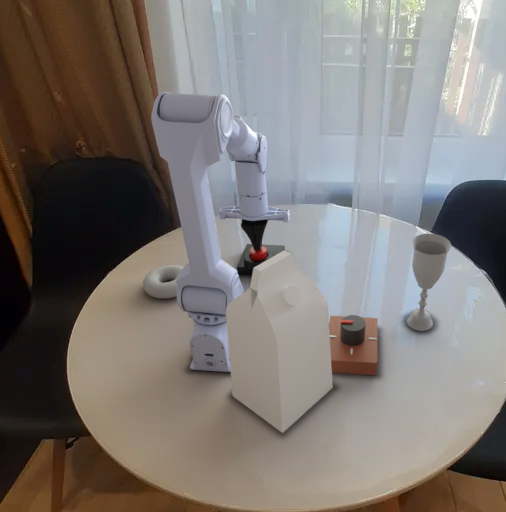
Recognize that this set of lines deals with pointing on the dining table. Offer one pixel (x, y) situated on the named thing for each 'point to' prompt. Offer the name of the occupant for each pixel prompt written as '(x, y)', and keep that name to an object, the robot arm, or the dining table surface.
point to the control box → (248, 264)
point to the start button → (258, 253)
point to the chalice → (427, 273)
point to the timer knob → (352, 330)
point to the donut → (160, 275)
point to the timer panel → (354, 349)
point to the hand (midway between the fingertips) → (258, 248)
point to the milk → (279, 343)
